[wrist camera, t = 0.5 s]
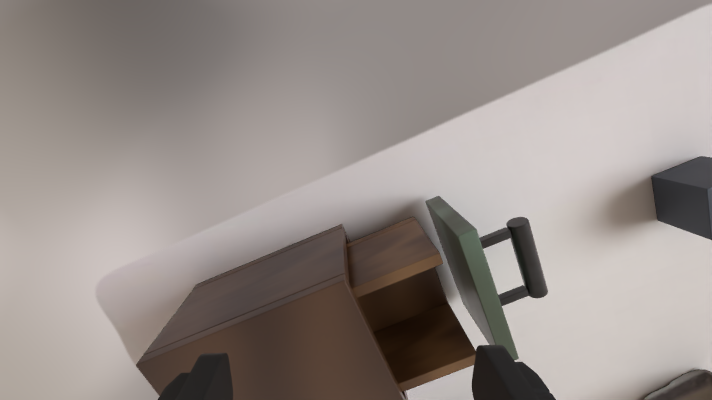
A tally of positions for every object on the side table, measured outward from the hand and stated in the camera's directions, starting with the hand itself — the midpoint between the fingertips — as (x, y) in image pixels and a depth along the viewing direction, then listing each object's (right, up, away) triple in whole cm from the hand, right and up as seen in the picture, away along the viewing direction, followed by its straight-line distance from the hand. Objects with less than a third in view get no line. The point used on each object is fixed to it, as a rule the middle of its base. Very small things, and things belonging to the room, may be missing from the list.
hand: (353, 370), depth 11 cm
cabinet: (-5, -4, +19) cm, 20 cm away
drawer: (+5, 0, +17) cm, 18 cm away
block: (+28, +6, +18) cm, 34 cm away
